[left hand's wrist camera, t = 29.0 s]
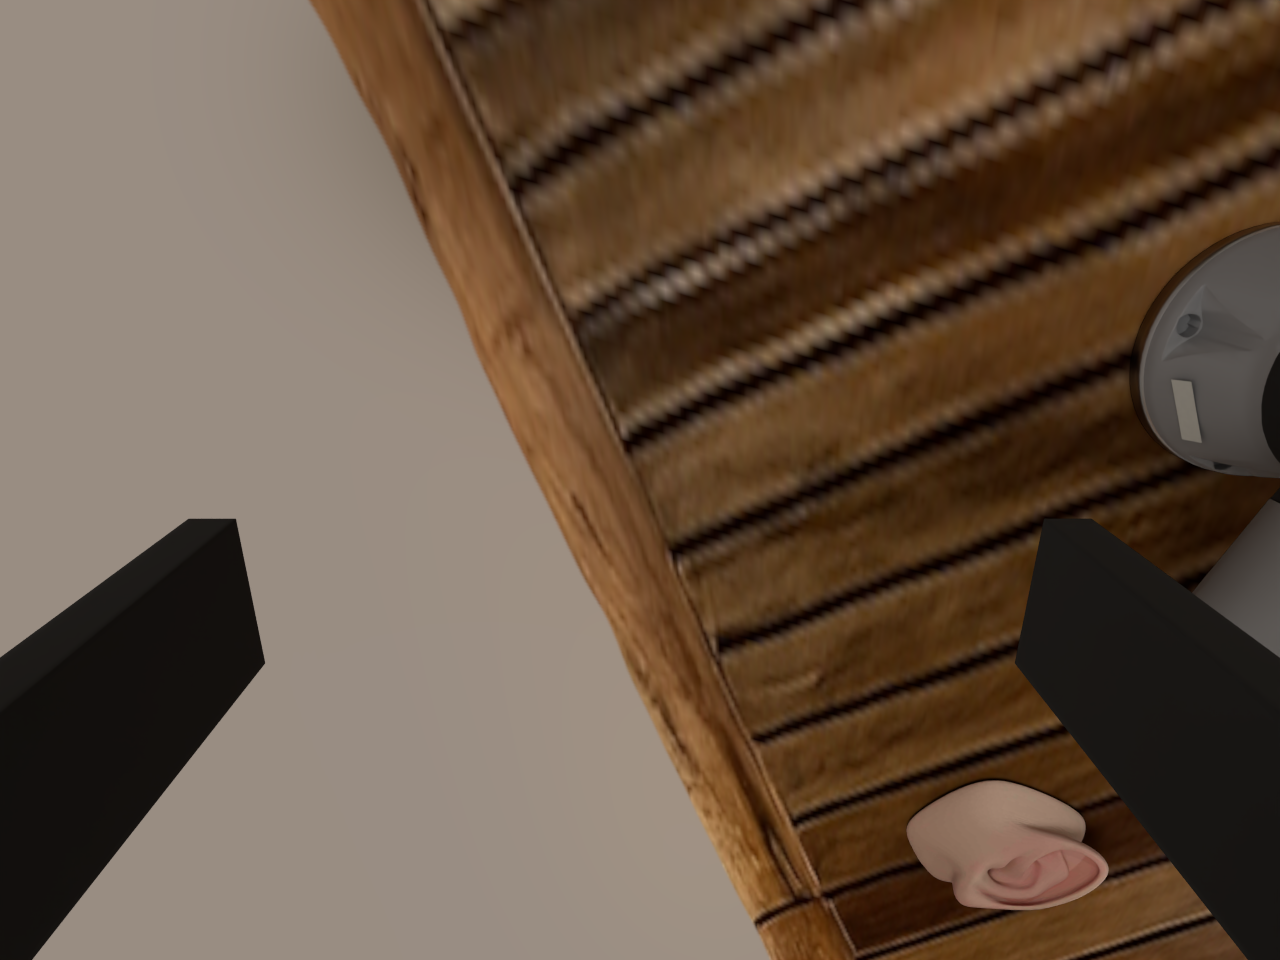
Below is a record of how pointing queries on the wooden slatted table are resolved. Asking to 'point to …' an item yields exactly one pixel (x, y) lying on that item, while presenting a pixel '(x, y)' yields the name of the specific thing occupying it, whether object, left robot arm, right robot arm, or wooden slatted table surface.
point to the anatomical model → (1006, 847)
